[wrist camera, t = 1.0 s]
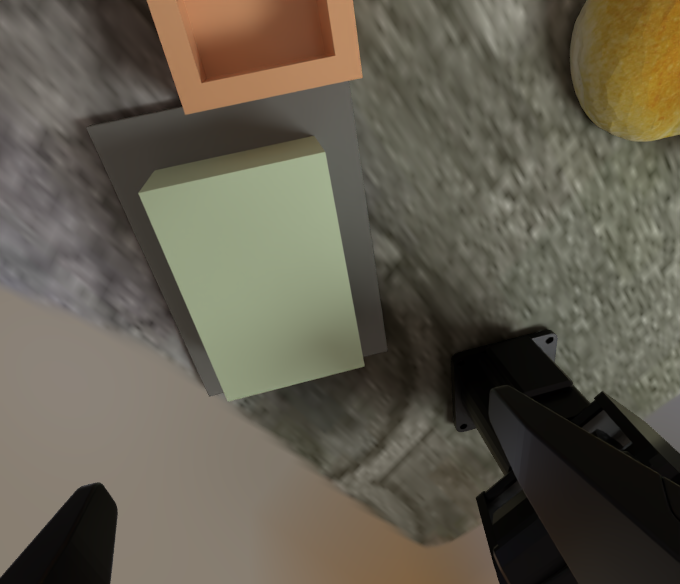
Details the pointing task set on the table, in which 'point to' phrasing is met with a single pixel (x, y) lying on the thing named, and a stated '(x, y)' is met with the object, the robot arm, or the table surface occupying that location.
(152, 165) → the mat
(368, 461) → the table surface
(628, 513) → the robot arm
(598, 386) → the table surface
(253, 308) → the lid
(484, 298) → the table surface
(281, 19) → the dish
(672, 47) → the bread roll
